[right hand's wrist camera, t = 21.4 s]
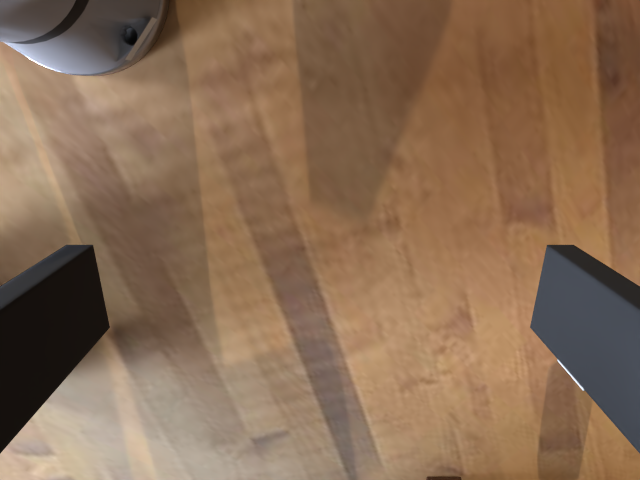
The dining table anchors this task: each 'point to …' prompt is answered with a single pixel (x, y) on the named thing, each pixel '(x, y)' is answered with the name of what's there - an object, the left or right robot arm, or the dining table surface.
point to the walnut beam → (443, 478)
